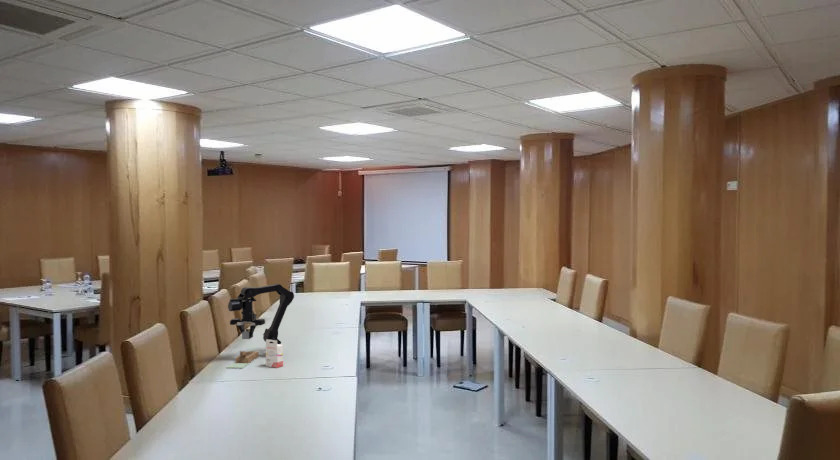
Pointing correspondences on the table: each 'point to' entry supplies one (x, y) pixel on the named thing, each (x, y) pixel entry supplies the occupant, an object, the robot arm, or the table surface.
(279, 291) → the robot arm
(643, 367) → the table surface
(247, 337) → the lever cap
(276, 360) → the ink cartridge box
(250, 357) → the body
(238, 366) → the mat
